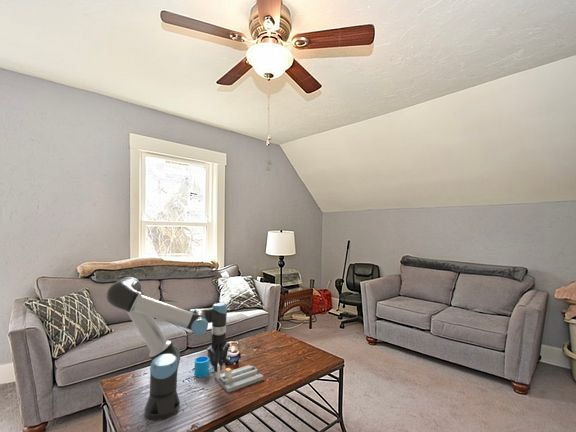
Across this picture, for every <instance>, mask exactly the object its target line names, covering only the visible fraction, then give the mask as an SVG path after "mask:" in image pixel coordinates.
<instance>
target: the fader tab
mask: <svg viewBox="0 0 576 432" xmlns="http://www.w3.org/2000/svg"><path fill="white" fill-rule="evenodd" d="M232 370H233V369H232V368H231V367H228V368H225V370H224V373H225V379H229V378H231V374H232Z"/></svg>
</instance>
